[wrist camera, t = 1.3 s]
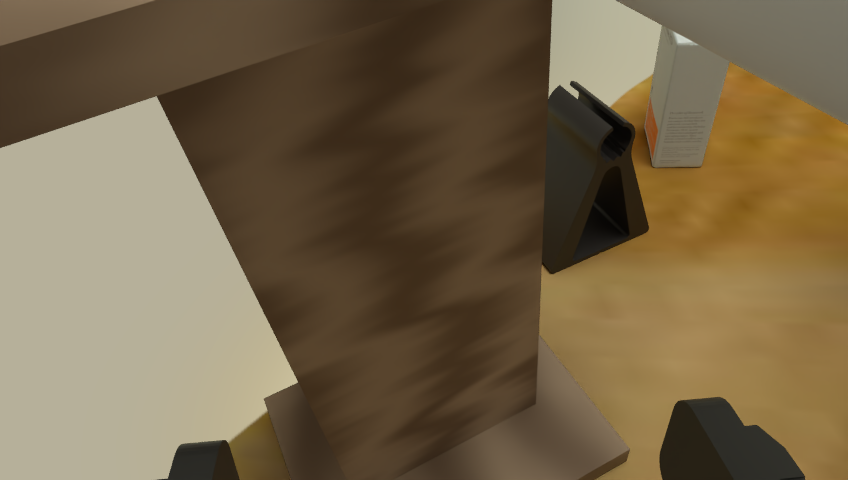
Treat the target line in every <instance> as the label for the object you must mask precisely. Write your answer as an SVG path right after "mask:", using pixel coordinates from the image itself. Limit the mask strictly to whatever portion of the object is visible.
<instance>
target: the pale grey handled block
mask: <svg viewBox="0 0 848 480" xmlns="http://www.w3.org/2000/svg"><path fill="white" fill-rule="evenodd" d="M616 1H618V2H620V3H622V4H624V5H625V6H627V7H629V8H631V9H633V10H635V11H637V12H639V13H640V14H643V15H644V16H646V17H648V18H650V19H652V20H654V21H655V22H657V23H659V24H661V25H663V26H665V27H666V28H668V29H670V30H672V31H674V32H676V33H678V34H679V35H681V36H683V37H685V38H687V39H689V40H691V41H693V42H694V43H696V44H698V45H700V46H702V47H704V48H706V49H707V50H709V51H711V52H713V53H715V54H717V55H719V56H720V57H722V58H724V59H726V60H728V61H730V62H732V63H733V64H735V65H737V66H739V67H741V68H743V69H745V70H747V71H748V72H750V73H752V74H754V75H756V76H758V77H760V78H761V79H763V80H765V81H767V82H769V83H771V84H773V85H774V86H776V87H778V88H780V89H782V90H784V91H786V92H787V93H789V94H791V95H793V96H795V97H797V98H799V99H801V100H802V101H804V102H806V103H808V104H810V105H812V106H814V107H815V108H817V109H819V110H821V111H823V112H825V113H827V114H828V115H830V116H832V117H834V118H836V119H838V120H840V121H841V122H843V123H845V124H847V125H848V0H616Z"/></svg>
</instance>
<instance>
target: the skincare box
mask: <svg viewBox="0 0 848 480" xmlns="http://www.w3.org/2000/svg"><path fill="white" fill-rule="evenodd" d="M729 62H730V61H728V60H726V59H724V58H722V57H720V56H719V55H717V54H715V53H713V52H711V51H709V50H707V49H706V48H704V47H702V46H700V45H698V44H696V43H694V42H693V41H691V40H689V39H687V38H685V37H683V36H681V35H679V34H678V33H676V32H674V31H672V30H670V29H668V28H666V27H665V26H663V25H662V29H661V34H660V40H659V46H658V52H657V57H656V63H655V68H654V74H653V79H652V86H651V91H650V97H649V103H648V108H647V114H646V120H645V125H644V129H645V132H646V136H647V141H648V145H649V150H650V156H651V161H652V166H653V167H655V168H660V167H701V166H702V162H703V159H704V155H705V151H706V147H707V143H708V140H709V136H710V132H711V129H712V125H713V121H714V118H715V114H716V110H717V107H718V103H719V99H720V95H721V92H722V88H723V84H724V81H725V77H726V73H727V69H728V66H729Z"/></svg>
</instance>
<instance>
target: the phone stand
mask: <svg viewBox="0 0 848 480" xmlns="http://www.w3.org/2000/svg"><path fill="white" fill-rule="evenodd" d="M570 85H571V86H572V87H573V88H574V89H576V90H577V91H578V92H579V97H578V99H576V98H575V97H574V96H573V95H571V94H570V93H569V92H568V91H566V90H565V89H564V88H563V87H561V86H560V85H559V86H558V87H557V88H556V89H555V90H554V91H553V92H552V94H551V95H550V97H549V99H548V117H547V142H546V167H545V192H544V217H543V242H542V262H543V263H544V265H545V266H546V267H547V268H548V269H549V271H550V272H551V273H552V274H554V273H556V272H559V271H561V270H563V269H565V268H568V267H570V266H572V265H574V264H577V263H579V262H581V261H583V260H586V259H588V258H590V257H592V256H595V255H597V254H599V252H600V251H602V252H604V251H606V250H608V249H610V248H613V247H615V246H617V245H619V244H622V243H624V242H626V241H628V240H631V239H633V238H635V237H637V236H640V235H642V234H644V233H646V232H647V231H648V229H649V226H648V222H647V218H646V214H645V210H644V206H643V202H642V198H641V194H640V190H639V186H638V182H637V178H636V174H635V170H634V166H633V162H632V158H631V150H632V145H633V141H634V138H635V128H634V126H633V125H632V124H630V123H629V122H628V121H627V120H625V119H624V118H623V117H621V116H620V115H619V114H617V113H616V112H615V111H614V110H612V109H611V108H610V107H608V106H607V105H606V104H604V103H603V102H602V101H601V100H599V99H598V98H597V97H595V96H594V95H593V94H591V93H590V92H589V91H588V90H586V89H585V88H584V87H582V86H581V85H580V84H578V83H577V82H574V81H571V83H570Z"/></svg>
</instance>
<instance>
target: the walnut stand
mask: <svg viewBox="0 0 848 480" xmlns="http://www.w3.org/2000/svg"><path fill="white" fill-rule="evenodd" d="M551 14H552V0H0V148H2V147H5V146H7V145H11V144H14V143H17V142H20V141H23V140H26V139H29V138H32V137H35V136H38V135H41V134H44V133H47V132H50V131H53V130H56V129H59V128H62V127H65V126H68V125H71V124H74V123H77V122H80V121H83V120H86V119H89V118H92V117H95V116H98V115H101V114H104V113H107V112H110V111H113V110H116V109H119V108H122V107H125V106H128V105H131V104H134V103H137V102H140V101H143V100H146V99H149V98H152V97H155V96H157V98H158V100H159V102H160V104H161V106H162V108H163V110H164V112H165V114H166V116H167V118H168V120H169V122H170V124H171V126H172V128H173V130H174V132H175V134H176V136H177V138H178V140H179V142H180V144H181V146H182V148H183V150H184V152H185V154H186V156H187V158H188V160H189V162H190V164H191V166H192V168H193V170H194V172H195V174H196V176H197V178H198V181H199V182H200V184H201V187H202V189H203V191H204V193H205V195H206V197H207V199H208V201H209V203H210V205H211V207H212V209H213V211H214V213H215V215H216V217H217V219H218V221H219V223H220V225H221V227H222V229H223V231H224V233H225V235H226V237H227V239H228V241H229V243H230V245H231V247H232V249H233V251H234V253H235V255H236V257H237V259H238V261H239V263H240V265H241V267H242V269H243V271H244V273H245V275H246V277H247V280H248V282H249V283H250V286H251V288H252V290H253V291H254V293H255V296H256V298H257V300H258V302H259V304H260V306H261V308H262V309H263V312H264V314H265V316H266V318H267V320H268V322H269V324H270V326H271V328H272V330H273V332H274V334H275V336H276V338H277V340H278V342H279V344H280V346H281V348H282V350H283V352H284V354H285V356H286V358H287V360H288V362H289V364H290V366H291V368H292V370H293V372H294V374H295V376H296V378H297V380H298V383H297V384H294V385H292V386H290V387H288V388H286V389H283V390H281V391H279V392H277V393H275V394H273V395H271V396H269V397H266V398H265V399H264V401H265V404H266V407H267V410H268V413H269V416H270V419H271V422H272V425H273V428H274V430H275V433H276V436H277V439H278V442H279V445H280V448H281V451H282V454H283V457H284V460H285V463H286V466H287V469H288V472H289V475H290V478H291V480H594V479H596V478H598V477H599V476H601V475H603V474H604V473H606V472H608V471H610V470H611V469H613V468H615V467H616V466H618V465H620V464H622V463H623V462H625V461H627V457H628V454H629V451H630V449H629V448H628V446H627V445H626V444H625V442H624V441H623V440H622V439H621V437H620V436H619V435H618V434H617V432H616V431H615V430H614V429H613V427H612V426H611V425H610V424H609V422H608V421H607V420H606V418H605V417H604V416H603V415H602V413H601V412H600V411H599V410H598V408H597V407H596V406H595V405H594V403H593V402H592V401H591V400H590V398H589V397H588V396H587V394H586V393H585V392H584V391H583V389H582V388H581V387H580V386H579V384H578V383H577V382H576V381H575V379H574V378H573V377H572V376H571V374H570V373H569V372H568V370H567V369H566V368H565V367H564V365H563V364H562V363H561V362H560V360H559V359H558V358H557V357H556V355H555V354H554V353H553V352H552V350H551V349H550V348H549V347H548V345H547V344H546V343H545V341H544V340H543V339H542V338H541V336H540V335H539V317H540V292H541V267H542V242H543V217H544V192H545V167H546V142H547V117H548V92H549V66H550V42H551V17H552V15H551Z"/></svg>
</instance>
